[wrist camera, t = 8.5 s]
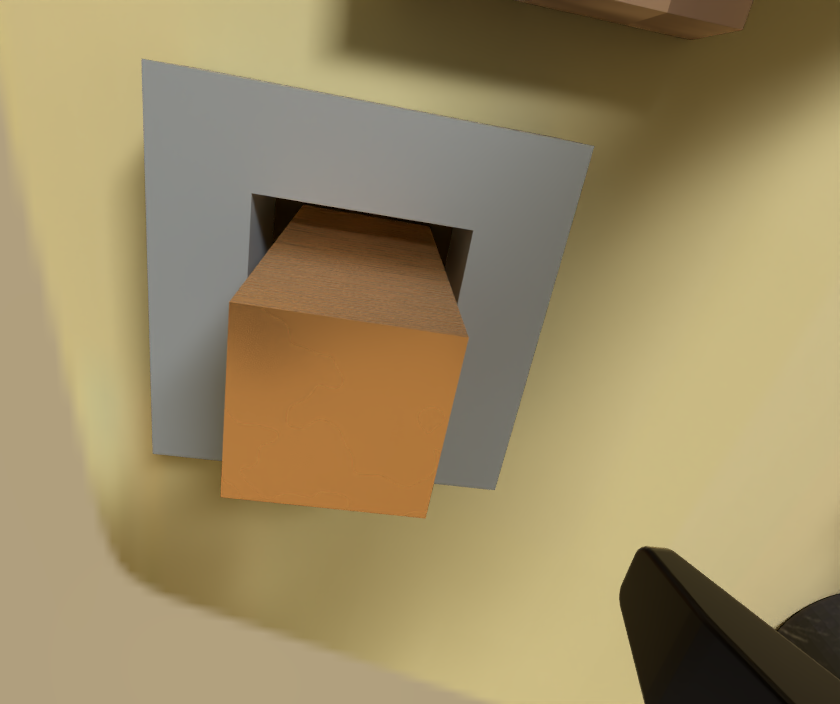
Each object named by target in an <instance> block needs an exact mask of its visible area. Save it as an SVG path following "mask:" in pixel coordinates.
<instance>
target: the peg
mask: <svg viewBox="0 0 840 704" xmlns="http://www.w3.org/2000/svg"><path fill="white" fill-rule="evenodd" d="M468 339H469V337H468V334H467V331H466V328H465V325H464V322H463V320H462V317H461V314H460V311H459V308H458V306H457V303H456V300H455V297H454V294H453V292H452V289H451V286H450V283H449V280H448V277H447V275H446V272H445V269H444V266H443V263H442V261H441V258H440V255H439V252H438V249H437V246H436V244H435V241H434V238H433V235H432V232H431V230H430V227H429V226H424V225H418V224H412V223H406V222H401V221H395V220H389V219H383V218H378V217H372V216H366V215H361V214H355V213H349V212H343V211H338V210H332V209H326V208H320V207H315V206H309V205H303V206H302V207H301V209H300V210H299V211H298V212H297V214H296V215H295V216H294V218H293V219H292V220H291V222H290V223H289V224H288V226H287V227H286V228H285V229H284V231H283V232H282V233H281V235H280V236H279V237H278V239H277V240H276V241H275V243H274V244H273V245H272V247H271V248H270V249H269V250H268V252H267V253H266V254H265V256H264V257H263V258H262V260H261V261H260V262H259V264H258V265H257V266H256V267H255V269H254V270H253V271H252V273H251V274H250V275H249V277H248V278H247V279H246V281H245V282H244V283H243V284H242V286H241V287H240V288H239V290H238V291H237V292H236V294H235V295H234V296H233V298H232V299H231V300H230V301H229V316H228V339H227V362H226V385H225V408H224V430H223V453H222V476H221V497H224V498H234V499H244V500H253V501H263V502H273V503H283V504H292V505H302V506H312V507H321V508H331V509H341V510H350V511H360V512H370V513H379V514H389V515H399V516H408V517H418V518H426V514H427V510H428V506H429V501H430V497H431V493H432V489H433V485H434V481H435V476H436V472H437V468H438V464H439V460H440V456H441V451H442V447H443V443H444V439H445V435H446V431H447V427H448V422H449V418H450V414H451V410H452V406H453V402H454V397H455V393H456V389H457V385H458V381H459V377H460V372H461V368H462V364H463V360H464V356H465V352H466V348H467V343H468Z"/></svg>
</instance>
